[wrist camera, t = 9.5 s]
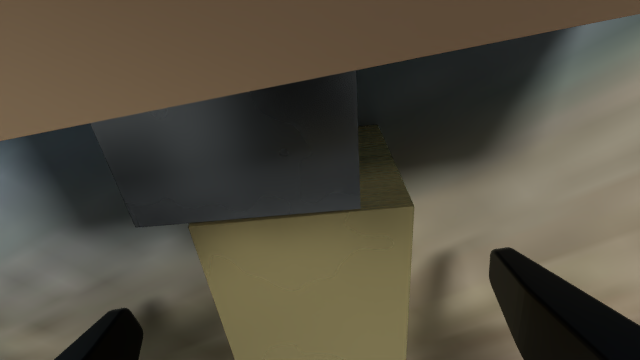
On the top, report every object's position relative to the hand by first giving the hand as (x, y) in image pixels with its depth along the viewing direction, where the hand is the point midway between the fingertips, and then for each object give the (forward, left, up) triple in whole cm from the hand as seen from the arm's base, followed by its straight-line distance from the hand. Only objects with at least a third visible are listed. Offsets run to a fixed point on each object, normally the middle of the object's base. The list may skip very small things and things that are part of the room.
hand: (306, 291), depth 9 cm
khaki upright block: (0, 0, -2) cm, 2 cm away
